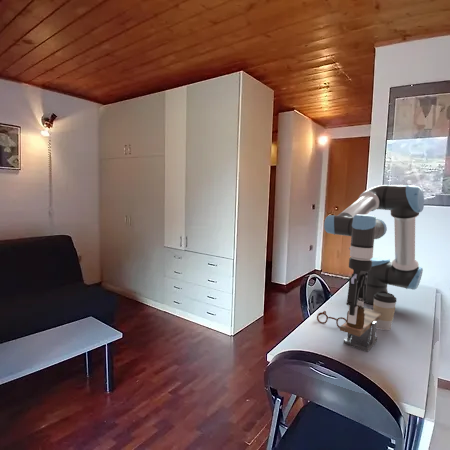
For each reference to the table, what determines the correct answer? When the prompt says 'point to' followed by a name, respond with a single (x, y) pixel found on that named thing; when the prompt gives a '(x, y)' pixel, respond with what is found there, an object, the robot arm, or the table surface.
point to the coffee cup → (384, 309)
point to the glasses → (329, 317)
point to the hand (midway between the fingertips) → (354, 320)
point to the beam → (369, 319)
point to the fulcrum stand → (363, 339)
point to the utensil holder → (358, 317)
